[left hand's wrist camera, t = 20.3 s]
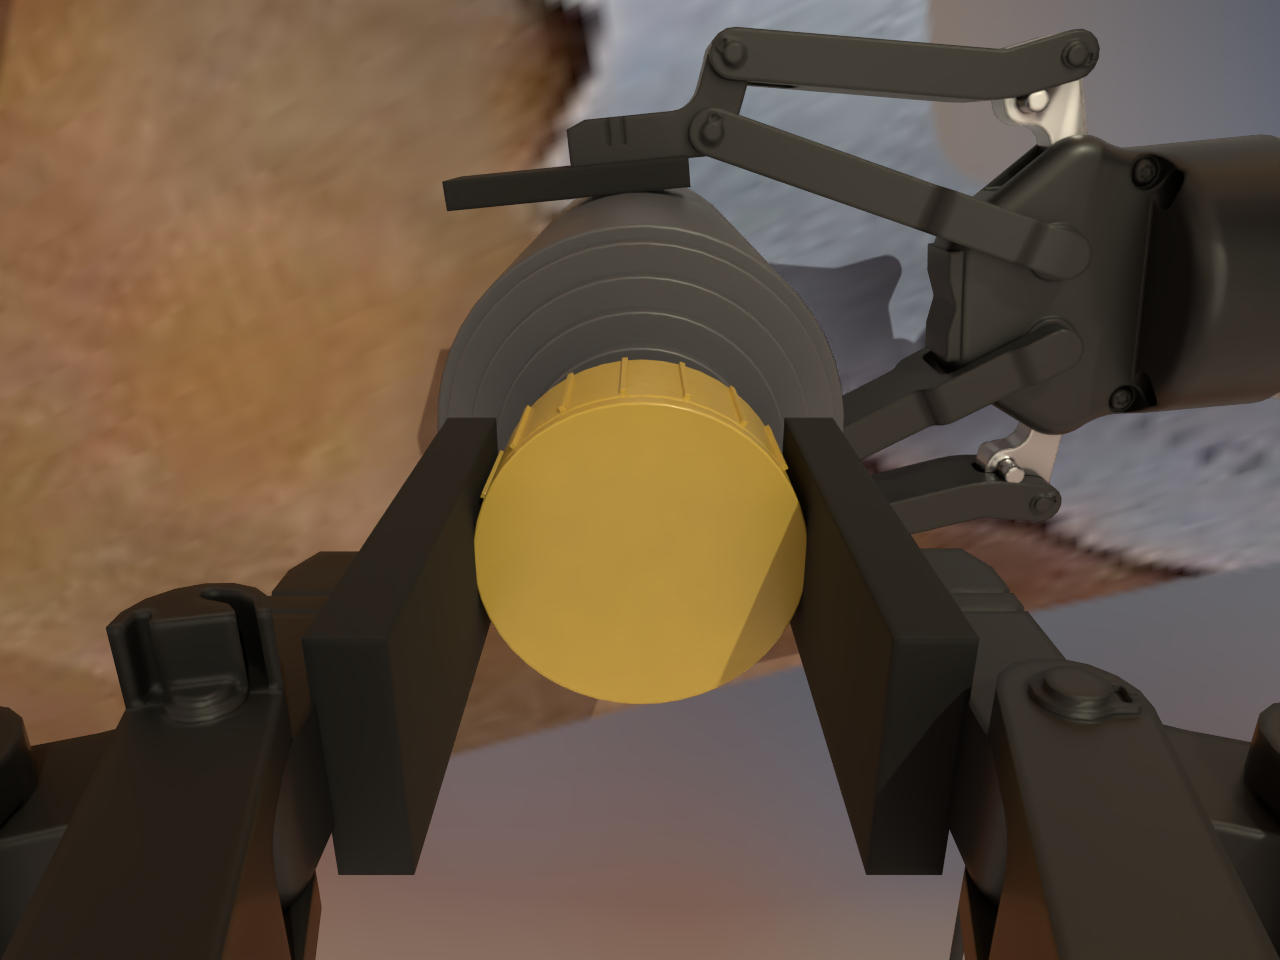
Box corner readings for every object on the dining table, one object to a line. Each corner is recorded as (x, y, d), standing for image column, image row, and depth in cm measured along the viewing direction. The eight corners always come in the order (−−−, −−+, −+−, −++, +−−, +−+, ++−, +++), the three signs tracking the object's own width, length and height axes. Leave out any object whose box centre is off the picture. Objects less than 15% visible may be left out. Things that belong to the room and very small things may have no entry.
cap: (564, 660, 16) (551, 747, 13) (444, 419, 14) (408, 474, 12) (822, 570, 15) (854, 648, 13) (727, 308, 13) (744, 345, 11)
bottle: (709, 423, 34) (801, 812, 15) (507, 364, 33) (322, 695, 14) (781, 217, 31) (1009, 360, 12) (562, 147, 30) (427, 180, 11)
